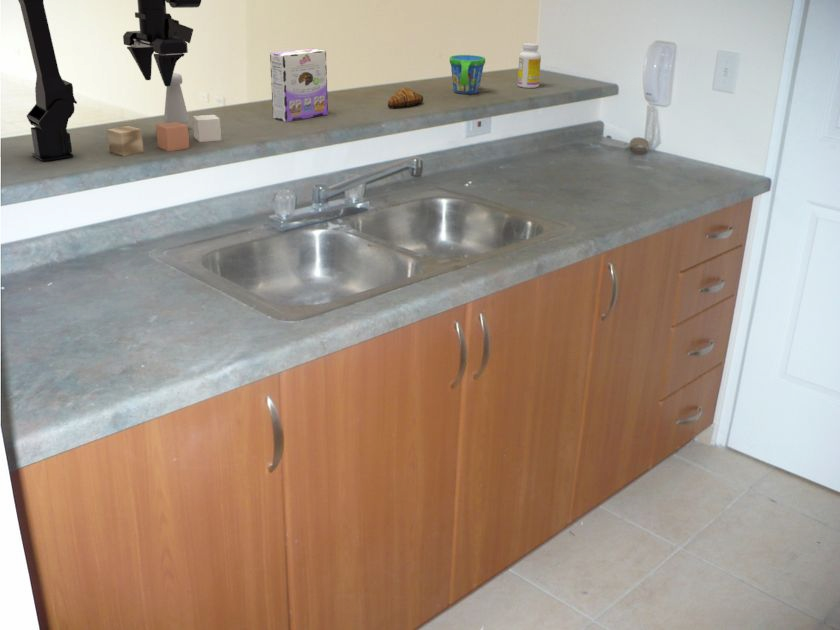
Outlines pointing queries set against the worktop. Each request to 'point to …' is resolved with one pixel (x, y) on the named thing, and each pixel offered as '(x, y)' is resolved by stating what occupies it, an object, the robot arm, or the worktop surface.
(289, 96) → the cake mix box
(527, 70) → the supplement bottle
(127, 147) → the oak cube
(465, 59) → the snack cup
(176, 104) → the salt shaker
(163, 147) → the terracotta cube
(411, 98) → the croissant
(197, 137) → the off-white cube
